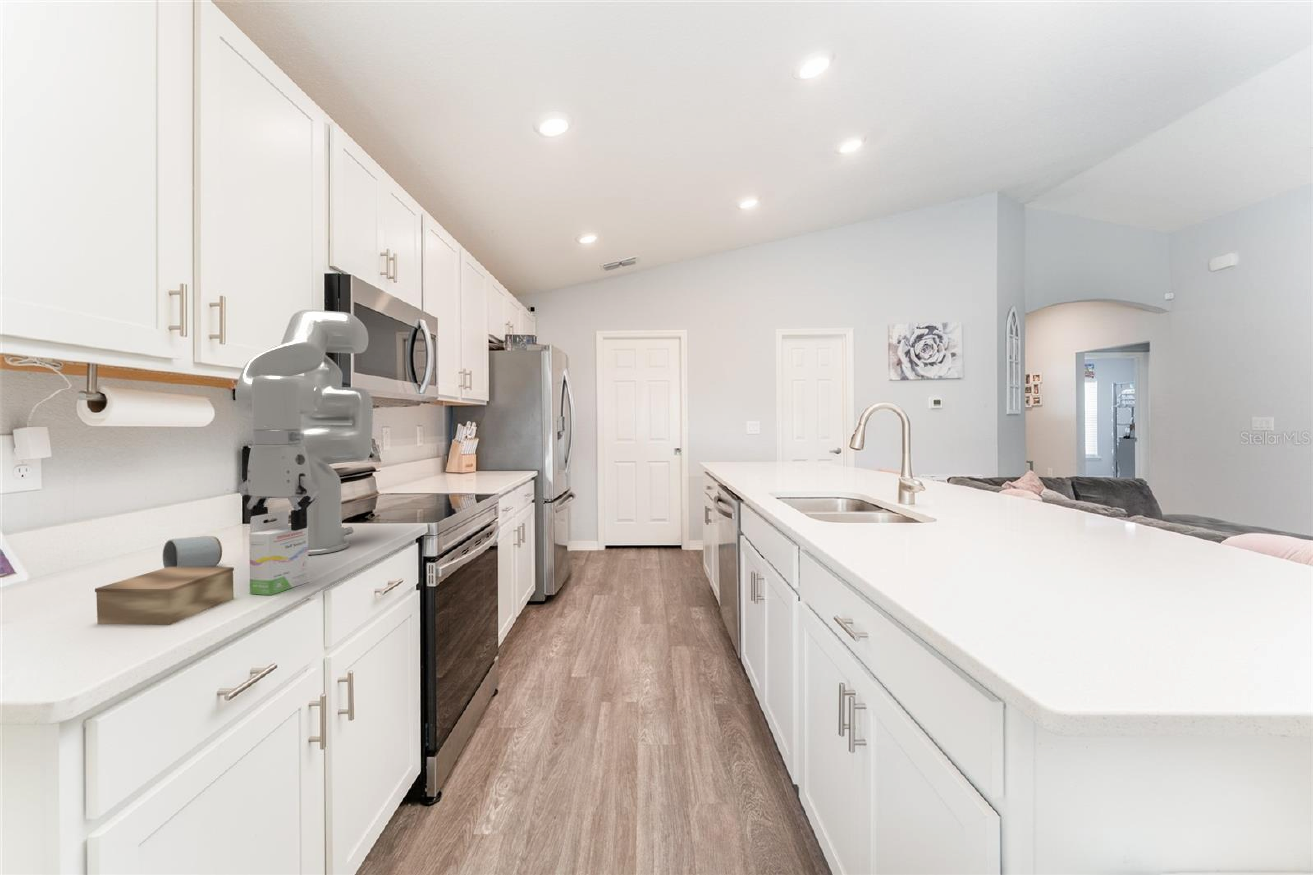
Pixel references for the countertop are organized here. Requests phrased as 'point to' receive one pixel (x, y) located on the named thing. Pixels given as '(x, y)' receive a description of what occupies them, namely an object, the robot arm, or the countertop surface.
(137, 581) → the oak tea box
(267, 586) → the ink box
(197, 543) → the ceramic mug
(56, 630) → the countertop surface
